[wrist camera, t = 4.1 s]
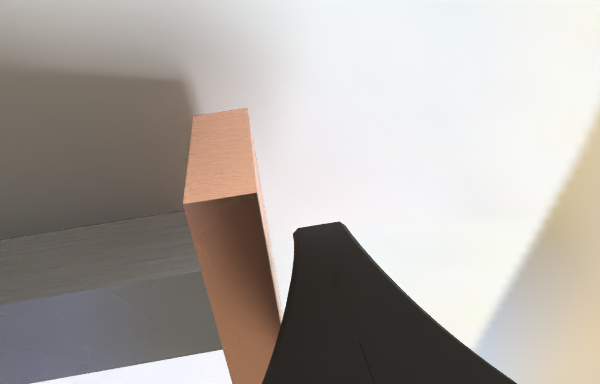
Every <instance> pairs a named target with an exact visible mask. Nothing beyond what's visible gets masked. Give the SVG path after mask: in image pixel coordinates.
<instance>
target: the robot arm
mask: <svg viewBox="0 0 600 384" xmlns="http://www.w3.org/2000/svg"><path fill="white" fill-rule="evenodd" d="M293 238H294V262H293V270H292V277H291V282H290V287H289V292H288V297H287V303H286V307H285V311H284V315H283V319H282V322H281V326H280V329H279V333H278V337H277V340H276V344H275V347H274V350H273V353H272V356H271V359H270V362H269V365H268V368H267V371H266V374H265V377H264V379H263V382H262V384H517V383H515V382H514V381H513V380H511V379H510V378H508V377H507V376H506V375H504V374H503V373H501V372H500V371H499V370H497V369H496V368H494V367H493V366H492V365H490V364H489V363H488V362H486V361H485V360H484V359H482V358H481V357H480V356H478V355H477V354H476V353H474V352H473V351H472V350H471V349H469V348H468V347H467V346H465V345H464V344H463V343H462V342H460V341H459V340H458V339H457V338H455V337H454V336H453V335H452V334H450V333H449V332H448V331H447V330H446V329H445V328H443V327H442V326H441V325H440V324H439V323H437V322H436V321H435V320H434V319H433V318H432V317H431V316H430V315H429V314H427V313H426V312H425V311H424V310H423V309H422V308H421V307H420V306H418V305H417V304H416V303H415V302H414V301H413V300H412V299H411V298H410V297H409V296H408V295H407V294H406V293H405V292H404V291H403V290H402V289H401V288H400V287H399V286H398V285H397V284H396V283H395V282H394V281H393V280H392V279H391V278H390V277H389V276H388V275H387V274H386V273H385V272H384V271H383V270H382V269H381V268H380V267H379V266H378V265H377V263H376V262H375V261H374V260H373V259H372V258H371V257H370V256H369V254H368V253H367V252H366V251H365V250H364V249H363V248H362V246H361V245H360V244H359V243H358V242H357V240H356V239H355V238H354V237H353V235H352V234H351V233H350V231H349V230H348V229H347V227H346V226H345V225H344V224H342V223H341V222H333V223H327V224H321V225H315V226H309V227H303V228H298V229H297V230H296V231H295V232H294V233H293Z"/></svg>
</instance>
